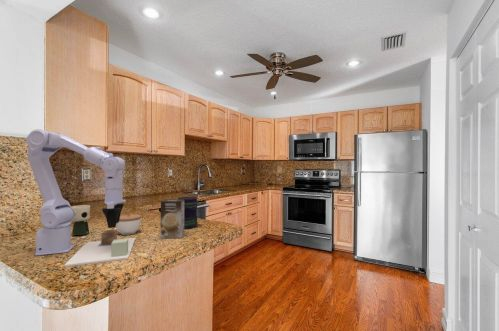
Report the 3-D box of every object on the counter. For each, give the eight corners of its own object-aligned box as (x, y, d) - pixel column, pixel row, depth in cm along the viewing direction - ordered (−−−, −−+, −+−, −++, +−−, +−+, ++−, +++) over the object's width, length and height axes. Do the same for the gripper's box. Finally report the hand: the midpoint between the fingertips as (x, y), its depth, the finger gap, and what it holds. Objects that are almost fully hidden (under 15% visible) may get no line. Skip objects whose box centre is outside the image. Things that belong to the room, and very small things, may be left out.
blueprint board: (63, 267, 72) (63, 264, 72) (86, 243, 94) (86, 242, 94) (128, 259, 78) (128, 257, 78) (135, 239, 101) (135, 237, 101)
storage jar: (200, 227, 119) (200, 198, 120) (180, 230, 115) (180, 199, 115) (194, 223, 128) (194, 196, 128) (175, 226, 123) (175, 197, 123)
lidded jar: (131, 229, 117) (131, 210, 117) (146, 231, 112) (146, 212, 112) (109, 234, 108) (110, 214, 108) (125, 237, 103) (125, 216, 103)
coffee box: (159, 238, 101) (159, 201, 101) (164, 234, 107) (164, 199, 108) (181, 238, 101) (181, 200, 102) (184, 234, 108) (184, 199, 108)
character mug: (79, 238, 102) (79, 208, 102) (63, 238, 102) (63, 208, 102) (96, 231, 113) (96, 204, 113) (81, 231, 113) (81, 204, 113)
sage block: (111, 257, 78) (111, 243, 78) (113, 252, 83) (113, 239, 83) (126, 255, 80) (126, 241, 80) (128, 251, 84) (128, 238, 84)
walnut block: (101, 245, 90) (101, 233, 90) (104, 242, 95) (104, 230, 95) (114, 244, 92) (114, 232, 92) (116, 240, 96) (116, 229, 96)
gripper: (123, 189, 83) (123, 228, 83) (127, 187, 97) (128, 220, 97) (100, 190, 81) (100, 230, 81) (108, 187, 94) (108, 221, 94)
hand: (113, 225), depth 88 cm, fingers open, 7 cm apart
